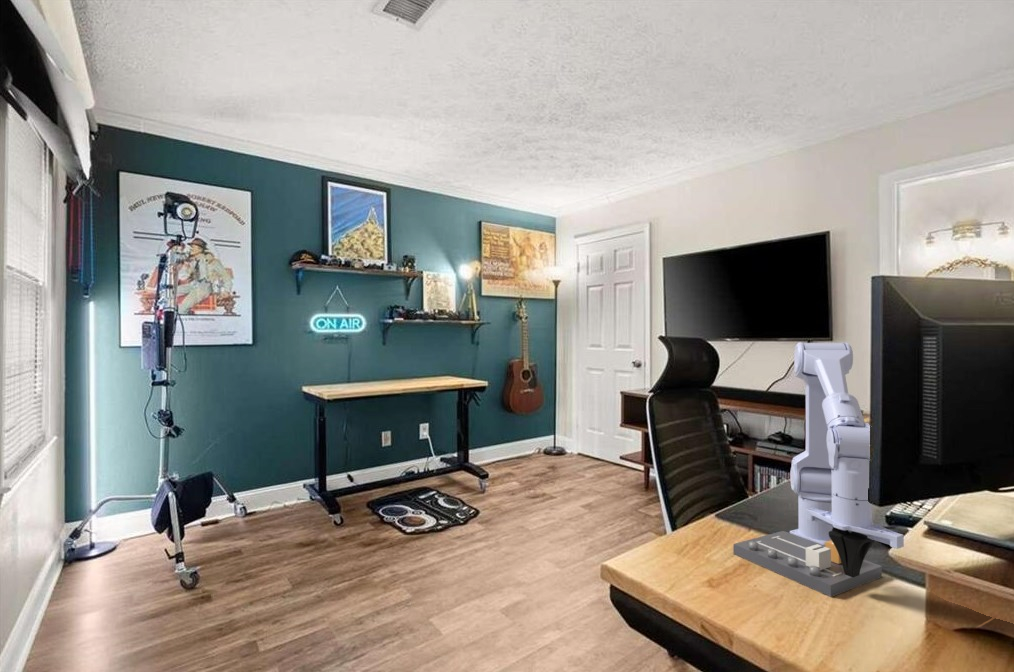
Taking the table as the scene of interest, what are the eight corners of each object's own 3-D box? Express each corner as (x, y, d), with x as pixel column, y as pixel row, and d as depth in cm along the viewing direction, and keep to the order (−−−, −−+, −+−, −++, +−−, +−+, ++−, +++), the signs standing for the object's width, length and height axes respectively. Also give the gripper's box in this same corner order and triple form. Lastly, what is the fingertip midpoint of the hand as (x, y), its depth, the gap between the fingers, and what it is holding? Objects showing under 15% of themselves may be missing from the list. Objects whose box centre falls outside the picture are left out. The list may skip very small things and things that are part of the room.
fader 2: (836, 555, 94) (836, 538, 94) (849, 560, 92) (849, 542, 92) (825, 558, 92) (825, 541, 92) (838, 564, 90) (838, 546, 90)
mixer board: (783, 539, 107) (783, 525, 107) (882, 577, 90) (881, 559, 90) (733, 553, 99) (733, 538, 100) (830, 597, 83) (830, 577, 83)
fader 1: (817, 561, 91) (817, 543, 91) (830, 566, 89) (830, 548, 89) (805, 565, 90) (805, 547, 90) (819, 570, 87) (818, 552, 87)
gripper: (795, 487, 89) (796, 562, 89) (886, 512, 76) (887, 599, 76) (819, 482, 92) (819, 555, 92) (910, 505, 79) (911, 589, 79)
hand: (851, 574), depth 84 cm, fingers closed
